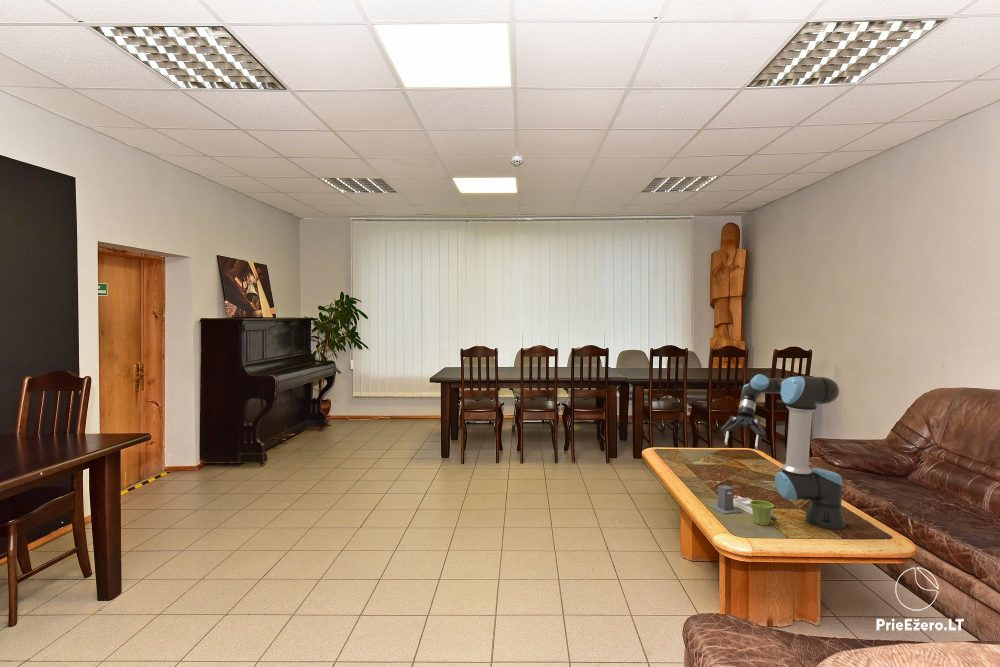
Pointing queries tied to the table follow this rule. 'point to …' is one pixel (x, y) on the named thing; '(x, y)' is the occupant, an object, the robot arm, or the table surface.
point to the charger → (725, 497)
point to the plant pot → (761, 511)
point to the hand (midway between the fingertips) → (740, 445)
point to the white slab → (746, 505)
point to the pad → (725, 510)
